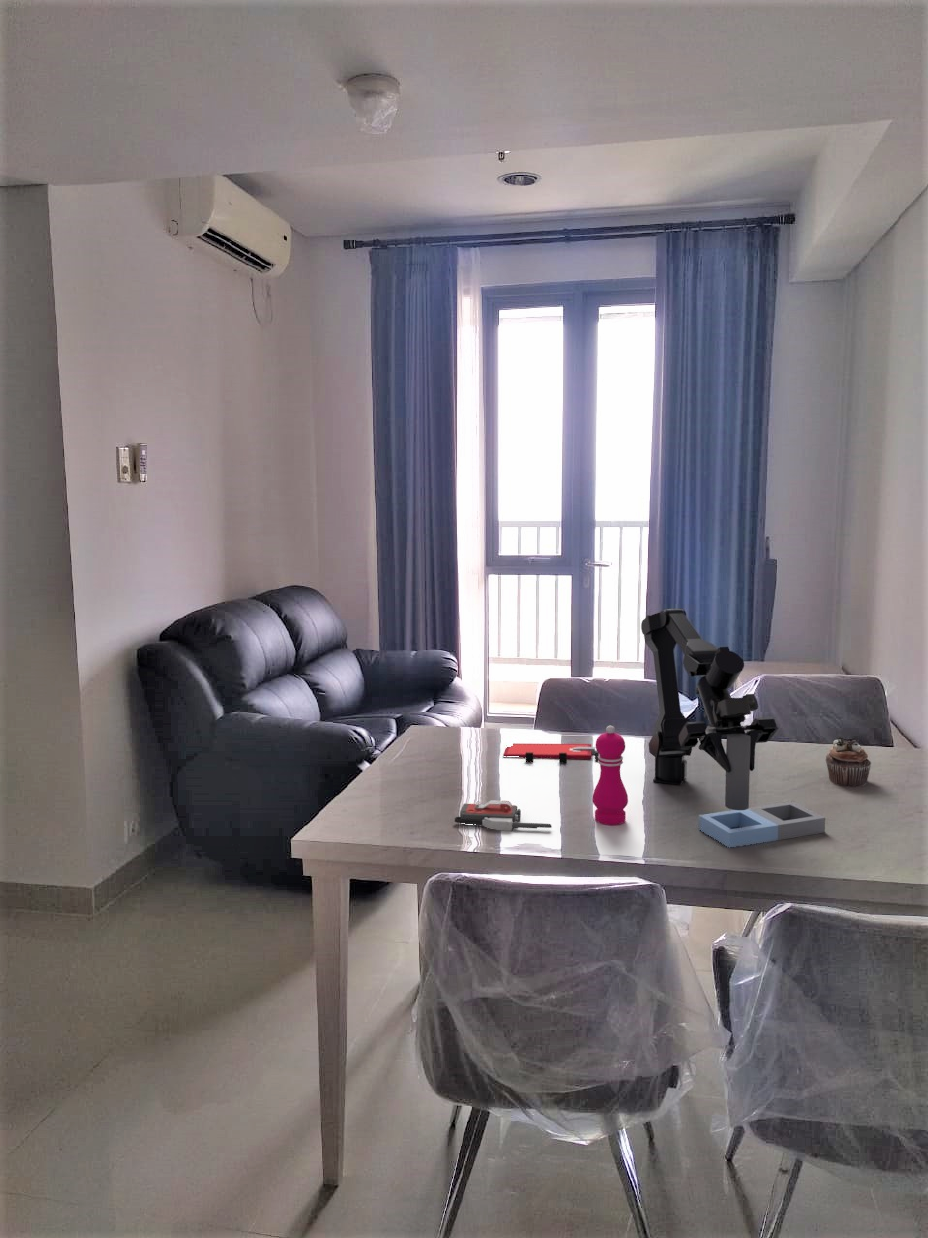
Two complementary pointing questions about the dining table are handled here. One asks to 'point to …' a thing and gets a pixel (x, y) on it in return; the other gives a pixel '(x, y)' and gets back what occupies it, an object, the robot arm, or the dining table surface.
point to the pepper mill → (610, 780)
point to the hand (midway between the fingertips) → (740, 770)
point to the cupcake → (848, 763)
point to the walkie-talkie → (495, 816)
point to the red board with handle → (552, 751)
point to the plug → (738, 772)
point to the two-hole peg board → (761, 824)
